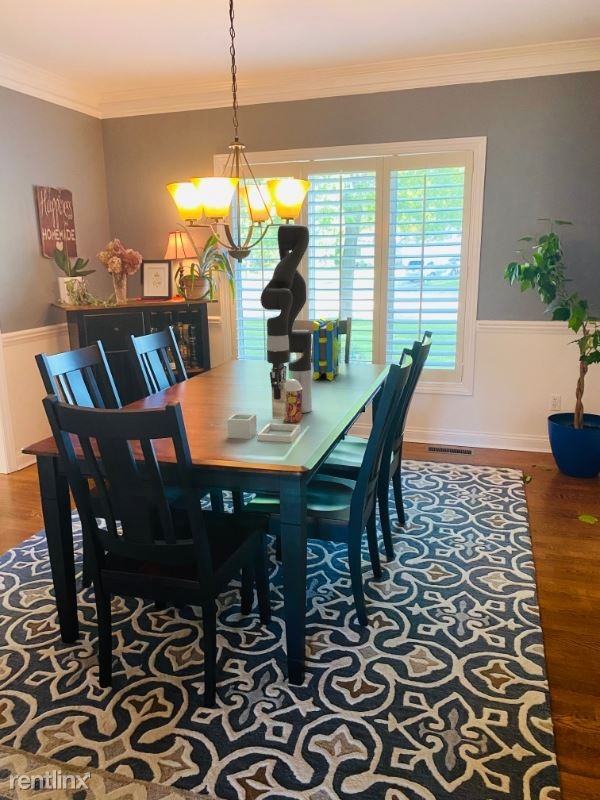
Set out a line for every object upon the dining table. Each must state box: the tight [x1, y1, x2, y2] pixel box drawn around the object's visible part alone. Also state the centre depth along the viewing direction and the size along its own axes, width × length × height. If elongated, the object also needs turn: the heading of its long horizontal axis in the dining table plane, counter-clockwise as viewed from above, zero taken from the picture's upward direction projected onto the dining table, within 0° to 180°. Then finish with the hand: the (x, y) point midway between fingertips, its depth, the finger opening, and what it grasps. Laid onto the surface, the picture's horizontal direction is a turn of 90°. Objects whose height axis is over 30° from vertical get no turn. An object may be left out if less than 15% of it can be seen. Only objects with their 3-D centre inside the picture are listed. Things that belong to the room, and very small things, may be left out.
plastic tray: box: [256, 423, 302, 443], centre depth 206 cm, size 14×12×3 cm
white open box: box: [226, 413, 258, 440], centre depth 206 cm, size 8×8×8 cm
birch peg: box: [271, 382, 287, 421], centre depth 203 cm, size 4×4×12 cm
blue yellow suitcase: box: [312, 317, 341, 382], centre depth 306 cm, size 14×23×30 cm, turn 166°
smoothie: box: [283, 371, 303, 424], centre depth 222 cm, size 8×8×20 cm
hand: (279, 397), depth 203 cm, fingers closed on birch peg, 4 cm apart
